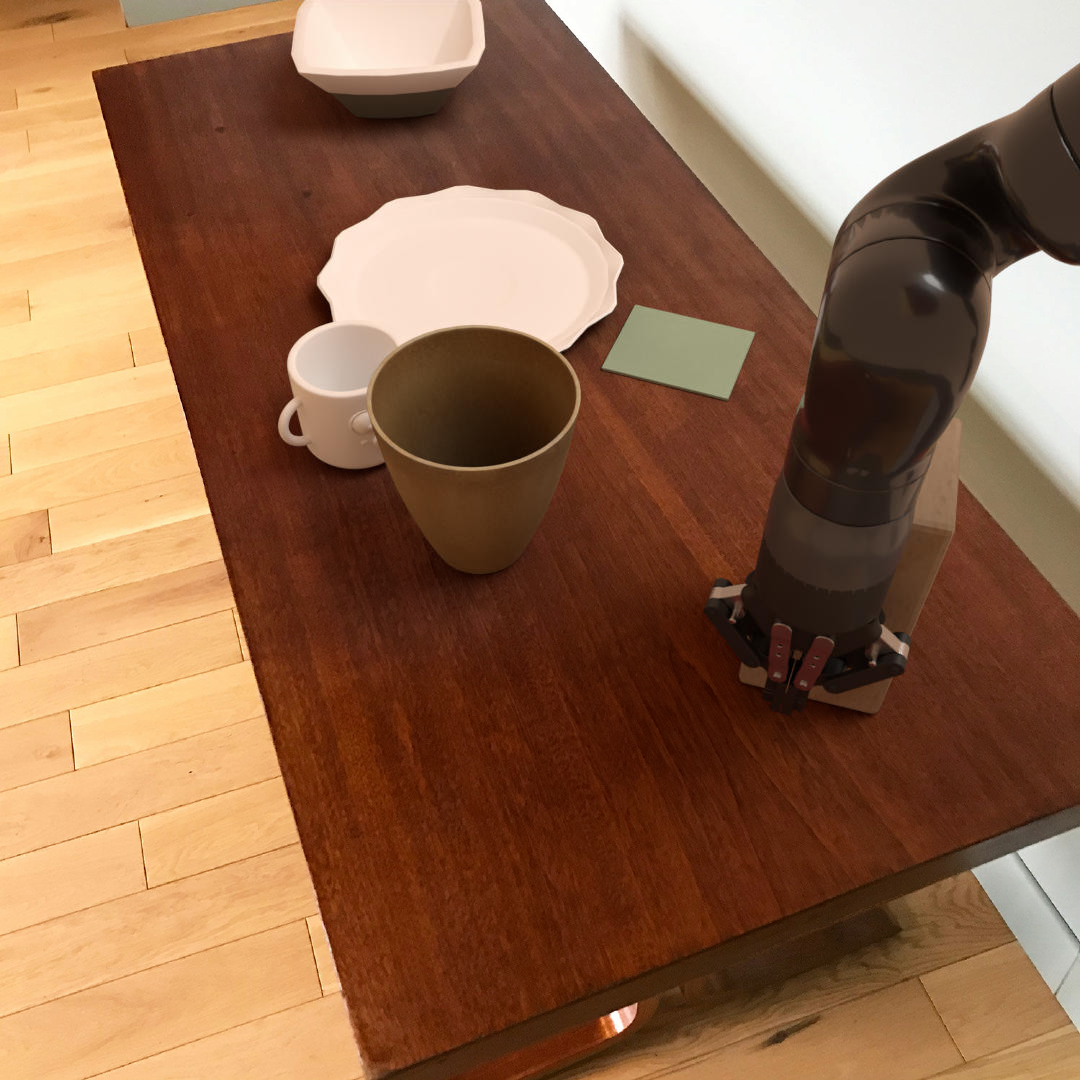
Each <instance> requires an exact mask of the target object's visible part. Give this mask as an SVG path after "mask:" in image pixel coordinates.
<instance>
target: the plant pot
mask: <svg viewBox="0 0 1080 1080" xmlns="http://www.w3.org/2000/svg"><path fill="white" fill-rule="evenodd" d="M581 390H582V389H581V385H580V381H579V378H578V375H577V374H576V371H575V370H574V368H573V366H572V365H571V363H570V362H569V360H568V359H567V358H566V357H565V356H564V355H563V354H562V352H561V353H559V352H558V351H557V350H556V349H554V348H553V347H552V346H550V345H549V344H548V343H546V342H544V341H542V340H541V339H539V338H536V337H534V336H532V335H529V334H527V333H524V332H520V331H517V330H513V329H508V328H503V327H498V326H488V325H463V326H455V327H448V328H443V329H438V330H434V331H431V332H428V333H425V334H422V335H420V336H417V337H415V338H413V339H411V340H409V341H407V342H405V343H403V344H402V345H400V346H399V347H397V348H396V349H395V350H393V351H392V352H391V353H390V354H389V355H387V356H386V357H385V358H384V359H383V360H382V362H381V363H380V364H379V366H378V367H377V368H376V370H375V371H374V373H373V375H372V377H371V379H370V382H369V385H368V388H367V393H366V405H367V411H368V415H369V419H370V422H371V425H372V428H373V431H374V433H375V436H376V439H377V442H378V445H379V447H380V450H381V453H382V456H383V458H384V461H385V463H384V464H385V465H386V467H387V470H388V473H389V475H390V477H391V479H392V481H393V484H394V485H395V488H396V490H397V492H398V493H399V496H400V497H401V500H402V501H403V503H404V505H405V507H406V508H407V511H408V513H409V514H410V516H411V518H412V519H413V521H414V522H415V524H416V525H417V527H418V529H419V530H420V531H421V533H422V534H423V536H424V537H425V539H426V540H427V542H428V543H429V544H430V545H431V547H432V548H433V549H434V551H435V552H436V554H438V556H439V557H440V558H441V559H442V560H443V561H444V562H445V563H446V564H447V565H449V566H450V567H451V568H453V569H455V570H457V571H460V572H463V573H467V574H470V575H471V574H472V575H488V574H493V573H497V572H499V571H502V570H505V569H506V568H509V567H510V566H511V565H513V564H514V563H515V562H517V560H519V558H520V557H521V556H522V555H523V553H524V551H525V550H526V549H527V547H528V545H529V544H530V542H531V540H532V538H533V537H534V535H535V533H536V532H537V530H538V529H539V526H540V524H541V523H542V520H543V519H544V517H545V515H546V512H547V511H548V508H549V506H550V503H551V501H552V500H553V497H554V495H555V491H556V489H557V487H558V485H559V482H560V479H561V477H562V473H563V471H564V467H565V464H566V461H567V458H568V454H569V451H570V448H571V444H572V441H573V440H572V439H573V435H574V431H575V428H576V425H577V419H578V416H579V411H580V407H581V399H582V394H581V393H582V391H581Z"/></svg>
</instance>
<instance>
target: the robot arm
mask: <svg viewBox="0 0 1080 1080" xmlns="http://www.w3.org/2000/svg"><path fill="white" fill-rule="evenodd" d="M1040 252H1043V253H1045V254H1046V255H1047V256H1049V257H1050V258H1052V259H1054V260H1055V261H1057V262H1059V263H1063V264H1065V265H1067V266H1068V265H1069V266H1073V267H1080V62H1078V63H1077V64H1075V66H1073V67H1071V68H1070V69H1069V70H1067V71H1066V72H1065V73H1064V74H1062V75H1061V76H1060V77H1058V78H1057V79H1056V80H1055V81H1054V82H1052V83H1051V84H1048V86H1046V87H1045V88H1044V89H1043V90H1041V91H1040V92H1038V94H1036V95H1035V96H1034V97H1032V98H1031V99H1030V100H1029V101H1028V102H1026V104H1025V105H1023V106H1021V107H1020V108H1019V109H1016V111H1013V112H1011V113H1009V114H1006V115H1005V116H1002V117H999V118H997V119H995V120H992V121H990V122H987V123H985V124H982V125H980V126H978V127H976V128H973V129H971V130H969V131H968V132H965V133H964V134H962V135H960V136H957V137H955V138H954V139H952V140H950V141H947V142H945V143H944V144H942V145H940V146H938V147H936V148H934V149H932V150H929V151H928V152H926V153H924V154H922V155H921V156H918V157H916V158H915V159H913V160H911V161H909V162H907V163H905V164H904V165H902V166H900V167H899V168H898V169H896V170H895V171H893V172H891V173H890V174H889V175H886V177H885V178H883V179H882V180H881V181H880V182H878V183H877V184H876V185H875V186H873V188H872V189H870V190H869V191H868V192H867V193H866V194H865V195H864V196H863V197H862V198H861V199H860V200H858V202H857V203H856V204H855V205H854V206H853V207H852V209H851V210H850V211H849V213H848V214H846V217H845V218H844V219H843V221H842V223H841V225H840V227H839V229H838V230H837V234H836V236H835V238H834V242H833V245H832V250H831V255H830V260H829V265H828V269H827V273H826V278H825V283H824V288H823V292H822V295H821V301H820V304H819V310H818V315H817V320H816V326H815V330H814V336H813V340H812V347H811V352H810V358H809V363H808V371H807V375H806V383H805V390H804V392H803V394H802V396H801V398H800V401H799V403H798V405H797V408H796V412H795V415H794V418H793V422H792V426H791V430H790V434H789V439H788V442H787V447H786V452H785V455H784V461H783V465H782V468H781V470H780V472H779V474H778V476H777V478H776V481H775V483H774V486H773V490H772V493H771V497H770V500H769V505H768V510H767V514H766V518H765V523H764V527H763V531H762V536H761V540H760V545H759V549H758V553H757V559H756V563H755V568H754V569H753V570H752V571H750V572H749V573H748V574H747V575H746V577H745V579H744V583H739V584H733V583H732V582H731V581H730V580H729V579H727V578H725V577H724V578H723V577H718V578H716V579H715V580H714V581H713V584H712V587H711V590H710V593H709V595H708V598H707V600H706V603H705V606H704V608H703V614H704V615H705V616H706V618H707V619H708V620H709V622H710V623H711V624H712V625H713V627H714V629H716V631H717V632H718V633H719V634H720V636H721V637H722V639H724V641H725V642H726V643H727V645H728V646H729V647H730V649H731V650H732V651H733V652H734V654H735V655H736V656H737V657H738V659H739V660H740V662H741V663H743V664H744V665H746V666H747V667H750V668H758V667H759V666H760V667H762V668H763V669H765V671H766V672H767V679H766V683H765V686H764V688H763V691H762V694H761V697H762V700H763V701H764V702H767V703H769V704H770V706H769V709H768V710H769V711H772V712H775V713H779V714H781V715H783V716H787V717H791V715H792V713H793V711H794V712H798V713H801V712H802V711H804V709H805V707H806V705H807V702H808V700H809V699H808V695H809V692H810V690H811V689H812V687H814V686H823V688H824V690H825V691H827V692H829V693H831V694H840V693H843V692H846V691H850V690H853V689H856V688H859V687H863V686H866V685H869V684H873V683H876V682H879V681H882V680H886V679H889V678H892V677H893V678H896V677H899V676H901V675H903V674H904V673H905V670H906V666H907V663H908V660H909V655H910V650H911V644H912V637H911V636H909V635H908V634H906V633H904V632H894V633H891V632H890V631H889V630H888V629H887V628H886V627H885V626H884V625H883V624H884V622H885V619H886V616H885V612H884V610H883V607H882V606H883V603H884V601H885V598H886V595H887V593H888V590H889V587H890V585H891V582H892V579H893V577H894V574H895V571H896V569H897V566H898V563H899V560H900V558H901V555H902V553H903V550H904V547H905V545H906V543H907V541H908V539H909V534H910V531H911V528H912V524H913V520H914V514H915V507H916V502H917V499H918V496H919V493H920V490H921V488H922V485H923V482H924V480H925V477H926V474H927V472H928V469H929V466H930V463H931V460H932V458H933V455H934V452H935V448H936V444H937V441H938V439H939V438H940V437H941V436H942V434H943V433H944V431H945V430H946V428H947V427H948V425H949V423H950V422H951V420H952V419H953V418H955V415H956V414H957V412H958V411H959V409H960V408H961V406H962V404H963V402H964V401H965V399H966V397H967V395H968V393H969V391H970V389H971V387H972V385H973V382H974V381H975V377H976V376H977V372H978V370H979V367H980V364H981V362H982V358H983V355H984V353H985V349H986V345H987V342H988V337H989V331H990V327H991V317H992V316H991V315H992V313H991V312H992V302H993V301H992V299H993V298H992V296H993V279H994V278H995V277H997V276H998V275H999V274H1001V273H1002V272H1003V271H1005V270H1006V269H1008V268H1009V267H1010V266H1012V265H1014V264H1016V263H1018V262H1019V261H1022V260H1023V259H1026V258H1028V257H1031V256H1033V255H1035V254H1038V253H1040ZM747 636H748V637H749V639H748V638H747ZM795 650H798V651H801V652H803V653H802V656H801V657H800V659H799V660H798V659H796V662H795V658H793V655H794V652H795ZM794 662H795V666H794ZM793 666H794V669H793ZM849 668H850V669H849ZM792 669H793V672H792ZM847 669H849V670H847ZM791 672H792V675H791ZM790 676H791V679H790ZM893 678H892V679H893ZM789 679H790V682H789ZM788 682H789V685H788ZM787 686H788V689H787ZM786 689H787V692H786ZM785 692H786V693H785Z"/></svg>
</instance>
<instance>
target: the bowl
mask: <svg viewBox="0 0 1080 1080" xmlns="http://www.w3.org/2000/svg"><path fill="white" fill-rule="evenodd" d="M295 18H296V19H295V23H294V28H293V36H292V44H291V52H290V55H291V58H292V61H293V63H294V65H295V68H296V70H297V73H298V75H300V76H302V78H304V79H307V80H308V81H309V82H310V83H312V84H314V85H315V86H317V87H319V88H320V89H322V90H323V91H325V92H326V93H329V94H331V95H332V97H334V98H335V99H336V100H337V101H338V103H340V104H341V105H342V106H343V107H344V108H346V109H347V110H348V112H350V113H351V114H352V115H353V116H354V117H357V118H362V119H363V118H365V119H405V118H407V119H408V118H416V117H423V116H428V115H435V114H437V113H438V112H439V110H440V109H441V107H442V106H443V105H444V104H445V102H446V100H447V99H448V98H449V96H450V95H451V93H452V92H453V90H454V89H455V88H456V87H457V86H459V84H460V83H462V81H464V79H466V77H468V75H469V74H471V73H472V72H473V71H474V70H475V69H476V68H478V66H479V63H480V61H481V59H482V56H483V54H484V51H485V50H486V38H485V22H484V14H483V7H482V2H481V0H304V1H302V4H301V5H300V6H299V8H298V9H297V11H296V17H295Z"/></svg>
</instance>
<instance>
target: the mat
mask: <svg viewBox="0 0 1080 1080" xmlns="http://www.w3.org/2000/svg"><path fill="white" fill-rule="evenodd" d="M755 336H756V331H751V330H749V329H748V330H747V329H743V328H738V327H734V326H730V325H726V324H721V323H716V322H713V321H709V320H704V319H700V318H695V317H691V316H687V315H682V314H678V313H674V312H669V311H666V310H660V309H656V308H652V307H648V306H643V305H639V304H634V306H633V308H632V310H631V312H630V313H629V315H628V316H627V319H626V321H625V322H624V325H623V326H622V327H621V330H620V332H619V334H618V337H617V338H616V340H615V342H614V343H613V345H612V346H611V349H610V351H609V353H608V354H607V356H606V358H605V360H604V362H603V364H602V365H601V370H602V371H604V372H607V373H608V372H609V373H613V374H616V375H621V376H623V377H629V378H631V379H632V378H633V379H637V380H641V381H645V382H648V383H649V382H650V383H653V384H658V385H661V386H664V387H669V388H674V389H678V390H680V391H684V392H685V391H686V392H690V393H693V394H697V395H702V396H705V397H706V396H707V397H710V398H713V399H718V400H721V401H725V402H728V401H729V399H730V396H731V394H732V392H733V390H734V387H735V385H736V382H737V379H738V377H739V375H740V372H741V370H742V368H743V365H744V363H745V360H746V358H747V355H748V353H749V350H750V348H751V345H752V343H753V341H754V338H755Z"/></svg>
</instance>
